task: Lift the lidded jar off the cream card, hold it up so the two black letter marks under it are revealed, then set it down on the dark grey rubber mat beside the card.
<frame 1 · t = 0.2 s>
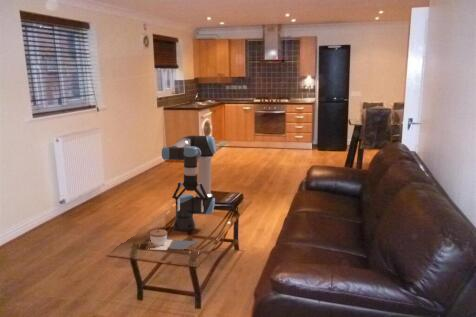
hand: (190, 211, 234), 28 cm above the table, tool pointing down, fingers open, 13 cm apart
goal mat: (183, 245, 255), on the table
code card: (158, 244, 256), on the table
lidded jar: (158, 244, 256), resting on code card
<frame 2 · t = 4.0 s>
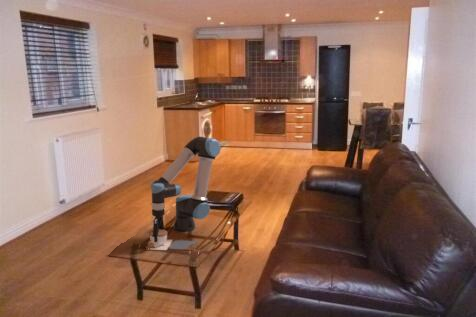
hand: (158, 243, 256), 1 cm above the table, tool pointing down, fingers closed on lidded jar, 11 cm apart
lidded jar: (158, 244, 256), resting on code card, touching gripper
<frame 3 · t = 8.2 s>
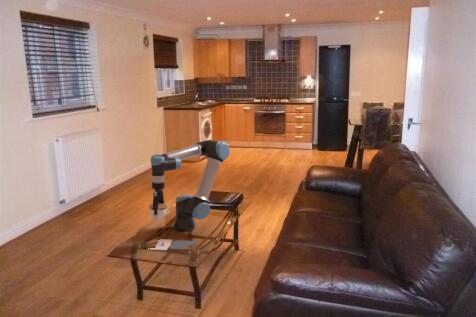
hand: (158, 216, 253), 18 cm above the table, tool pointing down, fingers closed on lidded jar, 11 cm apart
lidded jar: (158, 218, 253), point 17 cm above the table, touching gripper
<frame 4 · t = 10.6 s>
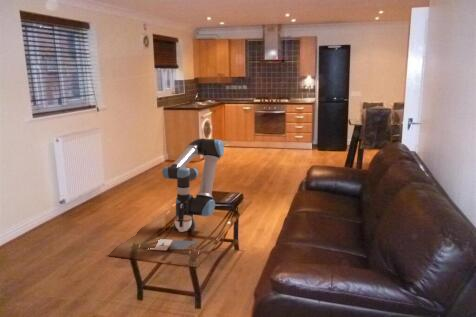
hand: (183, 228, 253), 11 cm above the table, tool pointing down, fingers closed on lidded jar, 11 cm apart
lidded jar: (183, 229, 253), point 10 cm above the table, touching gripper
when the fingers open (3 cm above the table, at t = 12.6 s): lidded jar drops 2 cm, resting on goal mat.
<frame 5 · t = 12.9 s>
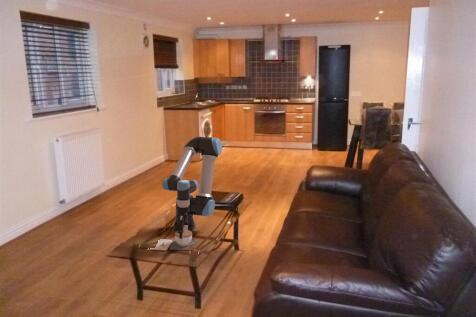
hand: (183, 239, 255), 4 cm above the table, tool pointing down, fingers open, 13 cm apart
lidded jar: (183, 245, 255), resting on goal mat
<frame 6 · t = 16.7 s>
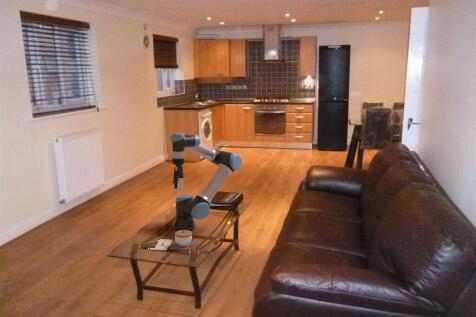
hand: (178, 190, 262), 32 cm above the table, tool pointing down, fingers open, 13 cm apart
nothing on the table moved.
at the end: lidded jar 0.1 cm off-centre on the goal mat, point 0.3 cm above the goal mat's base; lidded jar tilted 0°; the gripper is holding nothing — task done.
